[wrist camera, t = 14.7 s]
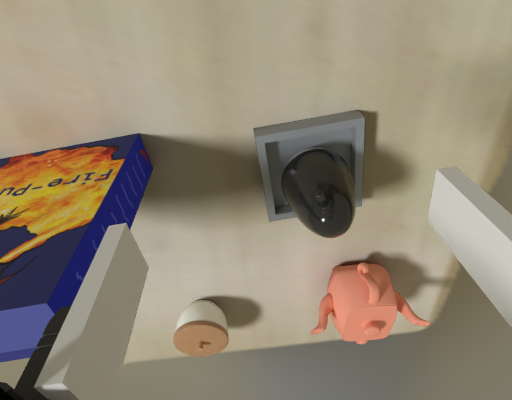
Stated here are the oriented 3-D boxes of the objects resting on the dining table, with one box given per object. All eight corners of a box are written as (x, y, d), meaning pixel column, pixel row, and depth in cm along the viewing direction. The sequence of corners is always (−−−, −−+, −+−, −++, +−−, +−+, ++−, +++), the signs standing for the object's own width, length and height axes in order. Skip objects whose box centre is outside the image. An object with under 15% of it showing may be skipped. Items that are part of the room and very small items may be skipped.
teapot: (403, 275, 70) (433, 328, 59) (339, 312, 76) (357, 367, 65) (364, 239, 63) (391, 292, 53) (297, 283, 69) (310, 338, 58)
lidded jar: (229, 292, 69) (229, 332, 61) (227, 323, 75) (227, 364, 67) (176, 292, 68) (170, 333, 60) (179, 324, 74) (173, 365, 66)
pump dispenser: (329, 124, 48) (364, 179, 36) (350, 178, 54) (386, 241, 41) (266, 154, 50) (278, 215, 38) (292, 203, 56) (311, 270, 44)
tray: (253, 128, 49) (254, 137, 46) (357, 109, 48) (364, 117, 46) (267, 210, 57) (269, 221, 55) (356, 195, 57) (361, 206, 54)
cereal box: (138, 133, 48) (44, 306, 23) (153, 168, 51) (84, 351, 27) (-5, 159, 49) (-242, 354, 24) (18, 193, 52) (-168, 392, 28)
